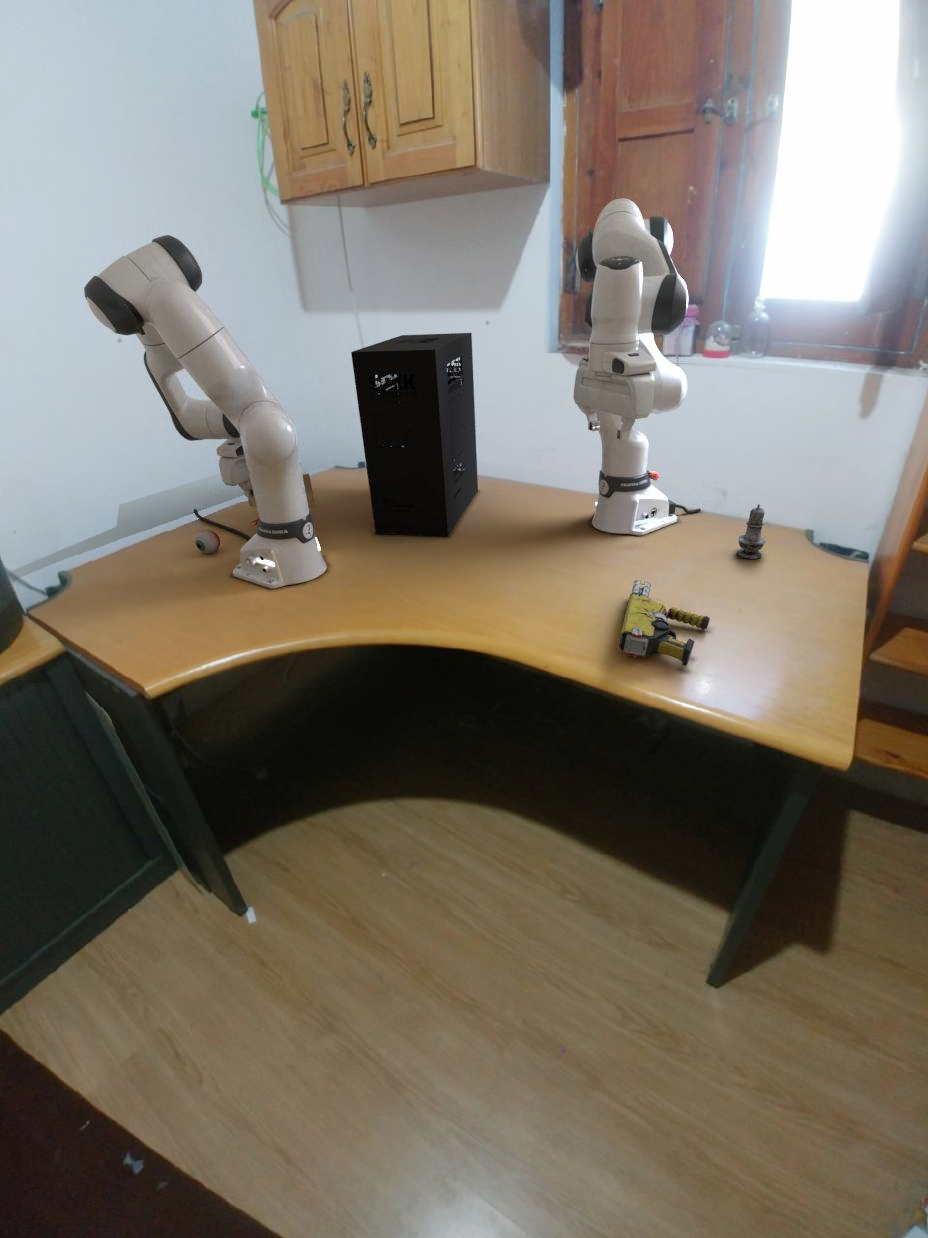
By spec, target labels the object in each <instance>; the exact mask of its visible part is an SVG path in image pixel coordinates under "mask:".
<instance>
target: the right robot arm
mask: <svg viewBox="0 0 928 1238" xmlns="http://www.w3.org/2000/svg"><path fill="white" fill-rule="evenodd" d="M641 212H642V211H641V210H640V209H639V207H638V205H637V204H636V203H635V201H632V200H631V199H628V198H625V197H624V198H621V197H620V198H616V199H613V200H611V201H610V202H608V203H607V204H606V205H605V206H604V207H603V208H602V210H601V212H600V213H599V215H598V217H597V219H596V222H595V225H594V228H593V231H592V230H589V231H588V233H587V234H585V235H584V236H583V237H581V239H580V241H579V242H578V244H577V249H576V252H575V265H576V270H577V273H578V275H580V279H581V280H582V281H583V282H584V283H585V284H593V285H592V286H591V287H590V288H589V289H588V290H587V292H586V293H585V295H584V296H585V315H584V322H583V323H584V324H585V326H587V328H589V329H590V330H591V333H590V338H589V347H588V354H585V355H583V357H582V358H581V359H580V360H579V363H578V368H577V370H576V373H575V379H574V387H573V401H574V403H575V405H577V407H578V409H579V410H580V411H581V412H582V413H583V414H584V415H585V416H586V419H587V430H588V431H590V432H591V431H592V432H597V431H598V434H599V436H600V437H599V438H600V443H601V468H600V470H599V474H598V492H599V493H598V498H597V501H595V503H594V504H595V506H596V507H595V511H594V514H593V517H592V520H591V525H592V526H593V527H594V528H595V529H597V530H599V531H601V532H605V533H611V534H623V535H625V534H626V535H632V536H633V535H634V536H645V535H646V534H650V533H652V532H654V531H657V530H660V529H662V528H665V527H668V526H670V525H672V524H675V523H677V522H678V516H677V515H676V508H678V509H681V510H682V511H684V512H685V513H686V514H695V513H699V512H701V508H700V507H699V508H695V509H690V510H689V509H688V508H687V507H686V506H684V505H682V504H678V503H676V502H674V501H672V500H671V499H669V498H668V497H667V496H666V495H665V494H664V493H663V492H661V491H660V490H659V489H658V488H656V487H655V486H654V485H652V483H651V480H653V481H658V479H659V478H660V473H659V472H657V471H654V470H651V471H649V470H648V469H647V466H648V458H649V457H648V456H649V447H650V443H649V440H648V437H646V435H645V434H644V433H643V432H641V431H639V430H638V429H636V428H634V427H633V426H634V425H635V423H636V420H640V419H645V418H646V419H647V418H648V417H649V416H650V415H660V414H663V413H668V412H672V411H676V410H677V409H679V408H680V407H681V405H682V404H683V402H684V400H685V399H686V396H687V393H688V380H687V376H686V374H685V372H684V371H683V370H682V369H681V367H679V366H677V365H675V364H673V363H672V362H670V361H669V360H668V359H667V358H666V357H665V356H664V355H663V354H662V353H661V351H660V350H659V348H658V346H657V345H656V342H655V337H654V335H663V336H668V335H670V334H671V333H673V332H674V331H675V330H677V329H678V327H679V326H681V325H682V324H683V323H684V322H685V318H686V315H687V312H688V306H689V292H688V287H687V284H686V282H685V280H684V279H683V278H682V277H681V275H680V274H679V273H678V271H677V269H676V267H675V264H674V262H673V260H672V258H671V253H672V250H673V246H674V234H673V230H672V227H671V225H670V224H669V219H667V218H666V217H665V216H662V215H653V216H652V215H651V216H650V217H649V218H643V214H642V213H641Z"/></svg>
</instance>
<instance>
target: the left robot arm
mask: <svg viewBox="0 0 928 1238" xmlns="http://www.w3.org/2000/svg"><path fill="white" fill-rule="evenodd" d="M202 284H203V271H202V269H201V267H200V265H199V262H198V260H197V258H196V257H195V255H194V254H193V252H192V251H191V250H190V249H189V247H187V245H185V244H184V243H183V242H182V241H181V240H180V239H179V238H177V237H174V236H172V235H169V234H166V235H162V236H157V237H155V238H153V239H152V240H151V242H150V243H147V244H145V245H142V246H139V247H138V248H136V249H134V250H132V251H130V252H129V253H128V254H126V255H121V256H120V257H118V259H115V261H112V263H110V264H109V265H108V266H107V267H105V268H104V269H103V270H102V271H100V273H99V274H98V275H93V276H92V277H91V278H90V279H89V281H87V283H86V284H85V286H84V288H83V292H84V298H85V300H86V301H87V304H88V307H89V309H90V311H91V313H92V314H93V315H94V317H95V318H96V319H97V320H98V322H100V323H101V324H102V325H103V326H105V327H106V328H107V329H108V330H110V331H112V332H113V333H115V334H116V335H122V336H132V335H135V336H136V337H137V339H138V340H139V342H140V343H141V345H142V346H143V348H144V353H143V364H144V366H145V370H146V371H147V373H148V376H149V378H150V380H151V381H152V384H153V386H154V387H155V389H156V391H157V392H158V394H159V397H160V398H161V400H162V401H163V404H164V405H165V407H166V409H167V411H168V413H169V415H170V418H171V421H172V424H173V427H174V429H175V430H176V431H177V433H178V434H179V435H180V436H181V437H182V438H184V439H185V440H187V441H189V442H190V441H191V442H194V441H203V440H225V441H224V442H223V443H221V444H220V445H219V446H218V447H217V448H216V454H217V456H219V460H218V467H219V472H220V477H221V481H222V482H223V483H224V485H225V486H230V487H236V486H239V488H240V489H241V490H242V492H243V494H244V496H245V497H246V498H248V497H251V496H253V492H254V497H255V501H256V505H257V507H256V509H257V514H258V517H257V518H256V519H254V520H252V521H251V522H250V523H251V527H253V528H254V527H255V526H256V532H255V534H253V536H252V537H251V536H249V535H248V534H246V533H244V532H242V531H240V530H238V529H236V528H233V527H231V526H227V525H225V524H222V523H219V522H216V521H213V520H210V519H208V518H205V517H203V516H202V515H200V513H199V512H198V510H197V509H196V508H194V509H193V514H194V516H195V517H196V518H197V519H199V520H200V521H203V522H205V523H207V524H209V525H212V526H216V527H218V528H221V529H223V530H227V531H230V532H232V533H235V534H237V535H239V536H241V537H243V539H244V538H245V539H246V540H247V541H246V542H245V543H244V544H243V545H242V547H241V548H240V551H239V562H240V563H239V564H237V565H235V567H234V569H233V570H232V576H233V577H235V578H238V579H241V580H244V581H247V582H250V583H253V584H256V585H259V586H262V587H265V588H267V589H272V590H273V589H274V590H275V589H278V588H282V587H285V586H289V585H296V584H301V583H306V582H309V581H312V580H314V579H316V578H318V577H320V576H322V575H323V574H324V573H325V572H326V571H327V567H328V566H327V563H326V561H325V560H324V557H323V554H322V553H321V546H320V543H319V541H318V538H317V537H316V535H315V524H314V519H313V515H312V514H313V513H312V511H311V510H310V508H308V502H307V497H306V492H305V487H304V481H303V474H302V473H303V467H302V460H301V459H302V458H301V454H300V447H299V441H298V435H297V434H298V433H297V428H296V425H295V423H294V421H293V419H292V418H291V417H290V415H289V413H288V411H287V409H286V408H285V407H284V405H283V403H281V401H280V400H279V398H278V397H277V395H275V393H274V392H273V390H272V389H271V388H270V387H269V385H268V384H267V383H266V381H265V379H264V378H263V377H262V376H261V374H260V373H259V371H258V370H257V369H256V368H255V366H254V365H253V363H252V362H251V361H250V359H249V358H248V356H247V355H246V354H245V353H244V351H243V350H242V349H241V347H240V345H239V344H238V343H237V342H236V341H235V339H234V338H233V336H232V335H231V334H230V332H229V331H228V330H227V328H226V327H225V325H224V324H223V322H222V321H221V319H219V317H218V316H217V315H216V314H215V312H214V311H213V310H212V309H211V307H210V306H209V305H208V304H207V303H206V302H205V301H204V300H203V298H201V297H200V295H199V294H197V291H198V290H199V289H200V288H201V286H202ZM183 370H185V371H186V372H187V374H188V375H189V376H190V377H191V379H192V380H193V381H194V382H195V383H196V385H197V386H198V387H199V388H200V390H201V391H202V392H203V393H204V395H205V396H206V397H207V398H208V399H197V398H194V397H191V396H189V395H188V394H187V393H186V391H185V389H184V387H183V385H182V383H181V382H180V379H179V377H178V375H177V374H176V373H179V372H180V371H183ZM249 480H251V484H252V488H253V491H252V490H251V489H249V488H248V487H247V486H246V485H248V483H247V481H249Z"/></svg>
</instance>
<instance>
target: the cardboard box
mask: <svg viewBox="0 0 928 1238" xmlns="http://www.w3.org/2000/svg"><path fill="white" fill-rule="evenodd" d="M472 334H473V333H472V332H455V333H453V332H452V333H429V334H427V333H424V334H423V333H422V334H402V335H399V336H396V337H392V338H389V339H386V340H383V341H380V342H378V343H374V344H370V345H368V346H365V347H362V348H360V349H356V350H353V351H350V355H351V361H352V363H351V364H352V370H353V376H354V383H355V384H354V385H355V391H356V393H355V394H356V398H357V407H358V415H359V422H360V429H361V437H362V443H363V445H362V446H363V452H364V459H365V466H366V467H365V468H366V474H367V482H368V488H369V489H368V490H369V496H370V504H371V512H372V519H373V527H374V533H375V534H377V535H378V534H379V535H381V534H382V535H400V536H401V535H404V536H424V537H425V536H426V537H427V536H428V537H446V538H447V537H449V536H450V535H451V533H452V532H453V530H454V528H455V527H456V526H457V524H458V522H459V521H460V519H461V517H463V516H462V515H464V513H465V511H466V510H467V509H468V507H469V505H470V504H471V502H472V501H473V499H474V497H475V496H476V495H477V493H478V491H479V482H478V481H479V479H478V458H477V435H476V432H477V431H476V409H475V408H476V407H475V385H474V382H475V381H474V361H473V336H472Z"/></svg>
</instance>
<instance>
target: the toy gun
mask: <svg viewBox="0 0 928 1238" xmlns="http://www.w3.org/2000/svg"><path fill="white" fill-rule="evenodd" d="M641 585H643V587H641ZM650 591H651V582H650V581H646V580H645V581H644V583H642V580H641V579H636V580H635V579H634V582H633V586H632V590H631V593H630V594H629V598H628V602H627V606H626V611H625V614H624V619H623V623H622V627H621V630H620V635H619V640H618V645H617V646H618V647H617V648H618V649H619V650H620V652H623V653H626V655H627V656H628V657H633V658H637V657H638V656H639V657H644V658H646V657H650V656H653V655H655V654H657V653H659V654H663V655H666V656H669V657H673V658H675V659H677V660H680V661H681V662H682V666H684V667H687V665H688V664H689V661H690V658H691V656H692V652H693V648H694V645H695V640H694V639H691V637H690V638H688V639H687V641H686V642H684V641H680V640H678V639H677V634H676V631H675V632H674V631H673V630H671V624H670V623H669V622H668V619H669V620H672V621H673V620H674V621H676V622H678V623H681V622H682V623H683V624H685V625H688V624H689V626H690V627H691V626H692V627H693V626H695V627H696V628H699V629H701V630H703V631H704V630H707V629H708V627H709V623H710V620H711V617H709V616H708V615H703V614H700V615H699V614H698V613H695V612H693V613H692V612H691V611H688V610H687V611H685V610H683V609H678V608H677V607H674V606H672V607H670V608H669V609H668V610H667V608H666V606H665V605H664V603H661V602H658V601H655V600H652V599H650V598H649V596H650Z"/></svg>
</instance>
